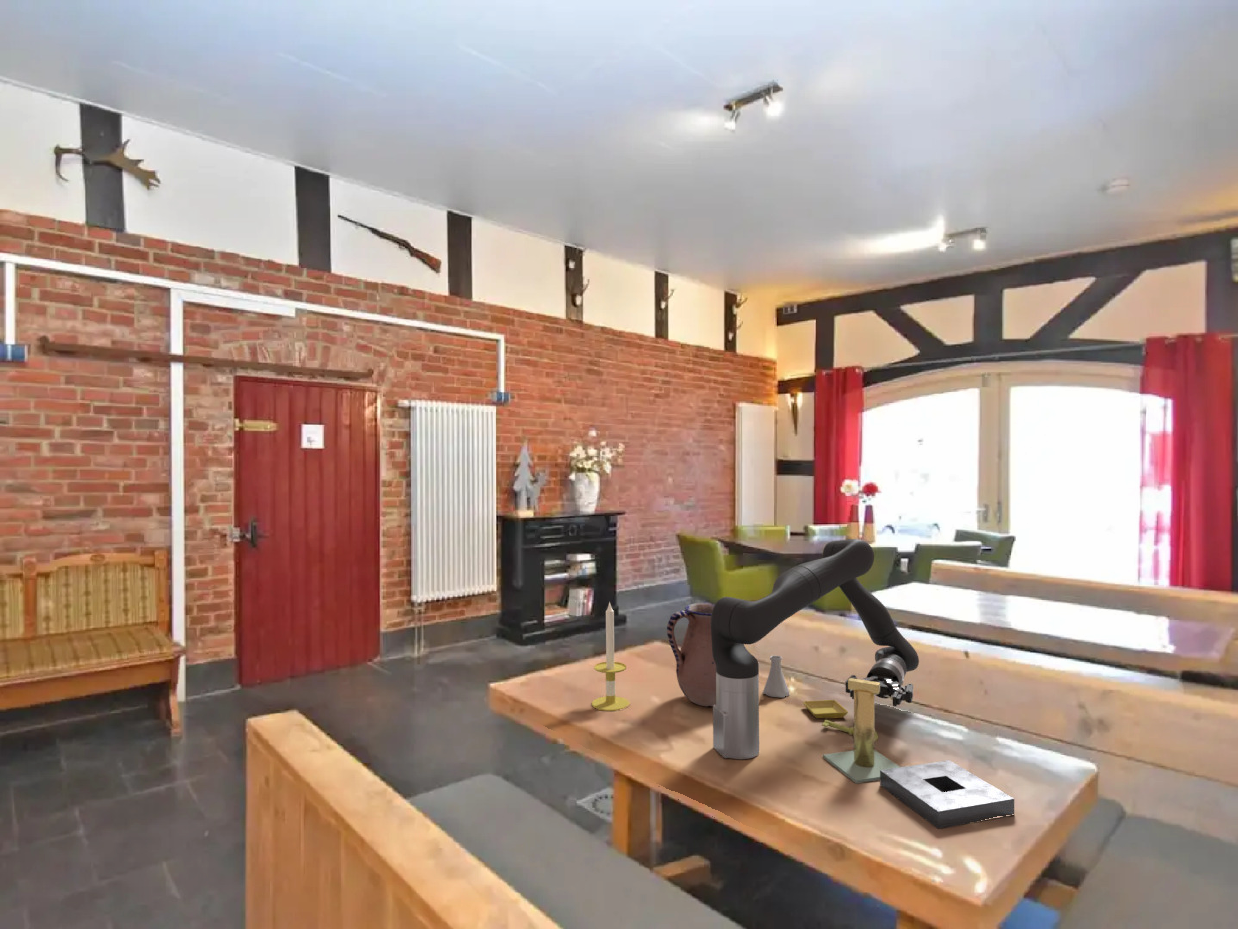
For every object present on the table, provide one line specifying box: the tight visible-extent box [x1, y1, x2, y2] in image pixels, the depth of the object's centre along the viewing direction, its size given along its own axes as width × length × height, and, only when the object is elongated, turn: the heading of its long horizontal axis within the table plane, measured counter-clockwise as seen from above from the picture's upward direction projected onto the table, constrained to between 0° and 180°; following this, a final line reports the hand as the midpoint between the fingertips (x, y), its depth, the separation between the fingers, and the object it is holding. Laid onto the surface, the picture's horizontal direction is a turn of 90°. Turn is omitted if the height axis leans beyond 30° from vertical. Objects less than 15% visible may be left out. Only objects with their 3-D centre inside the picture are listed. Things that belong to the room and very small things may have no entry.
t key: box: [848, 678, 880, 767], centre depth 141 cm, size 6×4×17 cm, turn 60°
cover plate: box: [879, 759, 1015, 830], centre depth 127 cm, size 16×16×3 cm
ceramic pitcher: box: [666, 601, 716, 707], centre depth 177 cm, size 18×21×25 cm
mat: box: [822, 749, 900, 784], centre depth 141 cm, size 12×12×1 cm
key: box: [821, 719, 879, 742], centre depth 156 cm, size 7×12×2 cm, turn 70°
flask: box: [762, 655, 790, 699], centre depth 184 cm, size 7×7×10 cm
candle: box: [591, 601, 631, 712], centre depth 177 cm, size 10×10×27 cm
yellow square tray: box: [802, 699, 849, 719], centre depth 170 cm, size 9×9×2 cm
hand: (873, 698), depth 150 cm, fingers open, 8 cm apart
